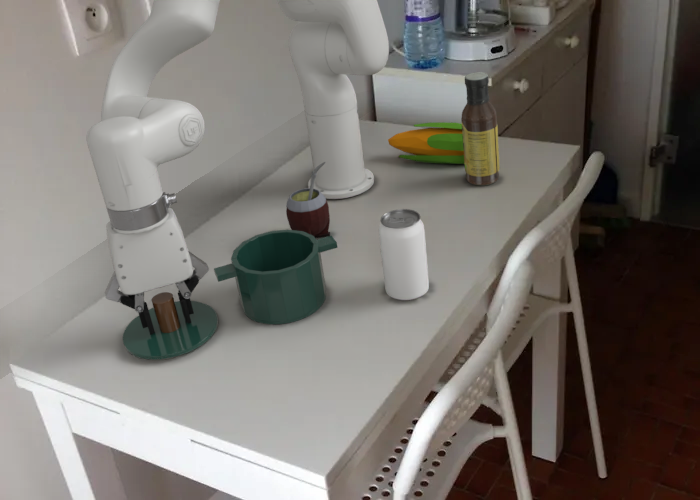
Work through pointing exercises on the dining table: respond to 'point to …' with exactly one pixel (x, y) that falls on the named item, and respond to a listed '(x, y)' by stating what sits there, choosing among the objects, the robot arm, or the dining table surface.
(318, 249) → the pot
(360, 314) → the dining table surface
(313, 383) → the dining table surface
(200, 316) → the pot lid
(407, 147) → the corn
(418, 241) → the can
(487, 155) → the sauce bottle
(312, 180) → the mate gourd
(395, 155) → the dining table surface
